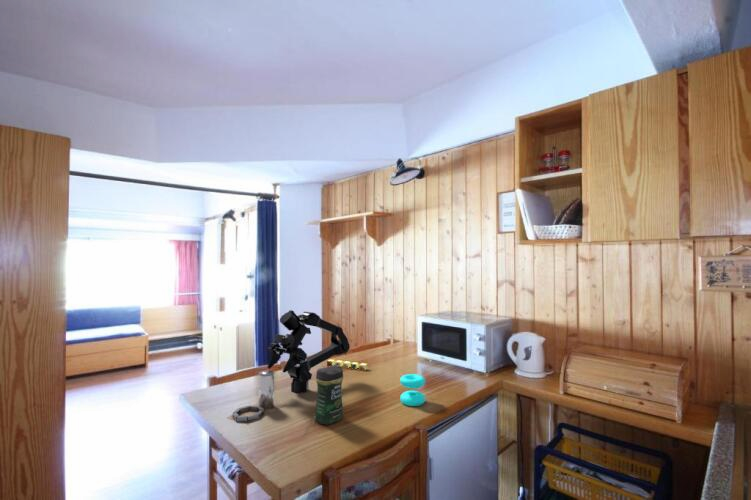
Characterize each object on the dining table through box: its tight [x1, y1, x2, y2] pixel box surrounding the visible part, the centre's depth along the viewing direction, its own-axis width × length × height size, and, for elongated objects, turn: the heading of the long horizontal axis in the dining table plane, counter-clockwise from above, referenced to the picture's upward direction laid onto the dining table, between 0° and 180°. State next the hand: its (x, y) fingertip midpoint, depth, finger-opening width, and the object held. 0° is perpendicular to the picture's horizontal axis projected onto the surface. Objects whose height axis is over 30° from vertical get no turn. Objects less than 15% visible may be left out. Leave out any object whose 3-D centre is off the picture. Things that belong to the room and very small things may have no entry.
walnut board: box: [226, 400, 288, 426], centre depth 127 cm, size 19×11×1 cm, turn 151°
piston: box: [257, 369, 275, 410], centre depth 131 cm, size 6×6×13 cm
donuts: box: [399, 373, 426, 407], centre depth 138 cm, size 10×10×10 cm
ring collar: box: [231, 404, 264, 423], centre depth 123 cm, size 10×10×2 cm
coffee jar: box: [314, 365, 344, 426], centre depth 123 cm, size 10×8×19 cm
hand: (275, 370), depth 138 cm, fingers open, 9 cm apart
